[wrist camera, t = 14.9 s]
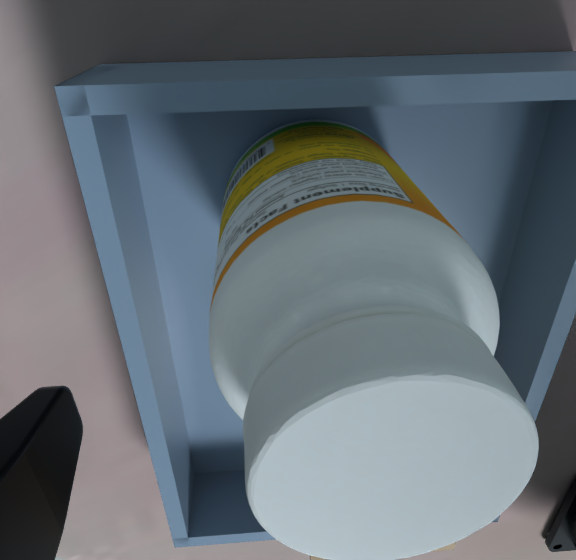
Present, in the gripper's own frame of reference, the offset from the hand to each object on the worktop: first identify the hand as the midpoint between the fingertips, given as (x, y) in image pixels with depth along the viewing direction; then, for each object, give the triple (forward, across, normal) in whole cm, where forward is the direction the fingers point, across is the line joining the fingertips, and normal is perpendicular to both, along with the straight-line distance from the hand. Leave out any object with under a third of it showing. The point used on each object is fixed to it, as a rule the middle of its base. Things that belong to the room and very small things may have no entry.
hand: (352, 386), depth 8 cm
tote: (+9, -1, +5) cm, 10 cm away
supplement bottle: (+8, 0, 0) cm, 8 cm away
